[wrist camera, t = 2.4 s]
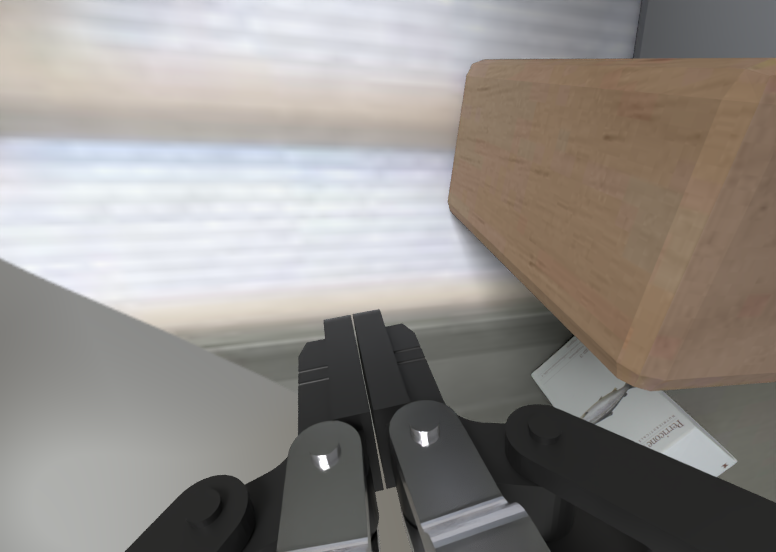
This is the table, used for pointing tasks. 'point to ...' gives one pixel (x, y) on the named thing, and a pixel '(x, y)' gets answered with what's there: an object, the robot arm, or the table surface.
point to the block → (633, 206)
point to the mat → (706, 29)
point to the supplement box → (627, 409)
